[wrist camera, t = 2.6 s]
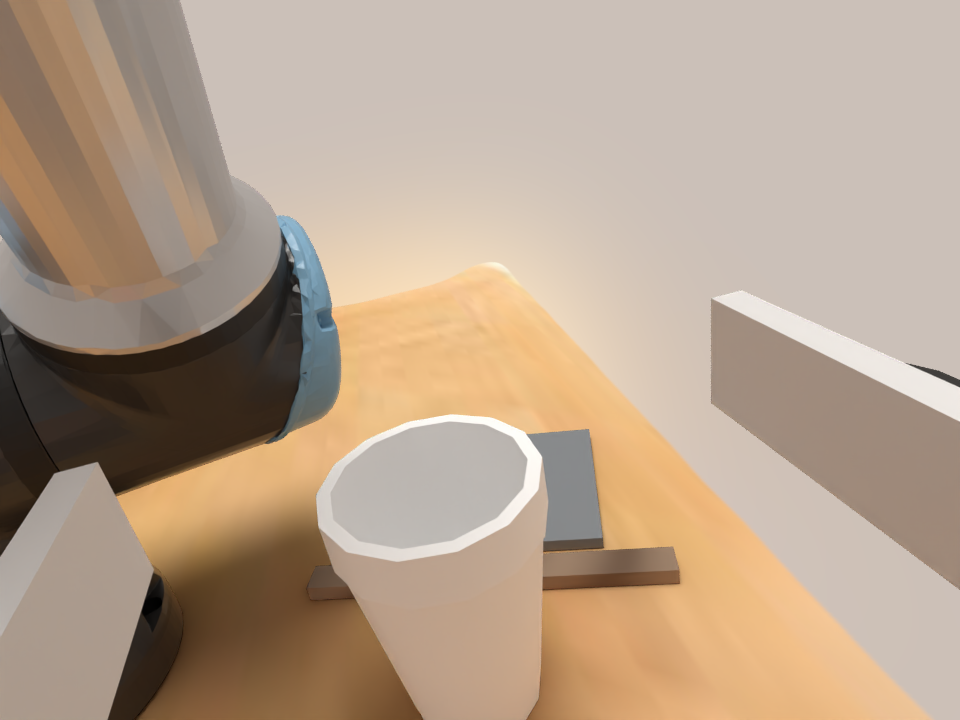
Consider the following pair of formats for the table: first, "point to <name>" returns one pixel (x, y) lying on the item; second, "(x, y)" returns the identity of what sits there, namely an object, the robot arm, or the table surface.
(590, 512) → the mat
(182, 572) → the table surface
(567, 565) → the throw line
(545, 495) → the foam cup
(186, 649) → the table surface
